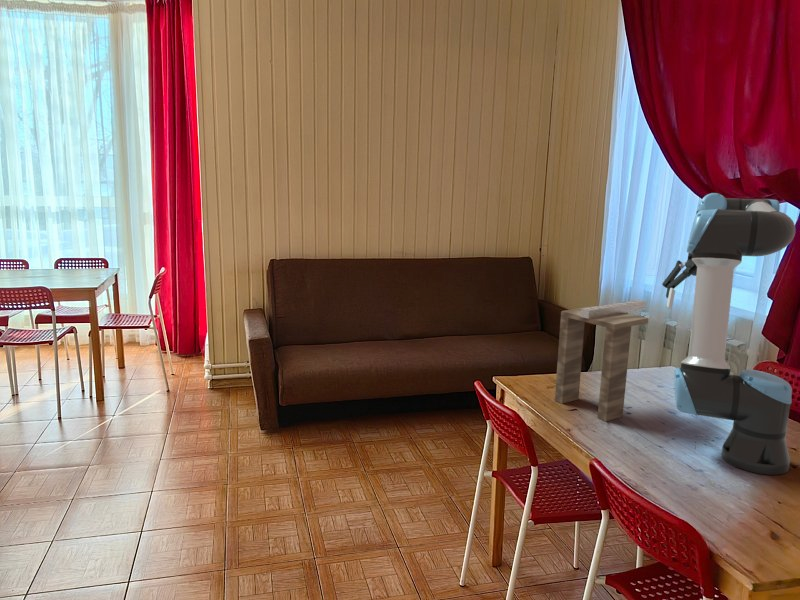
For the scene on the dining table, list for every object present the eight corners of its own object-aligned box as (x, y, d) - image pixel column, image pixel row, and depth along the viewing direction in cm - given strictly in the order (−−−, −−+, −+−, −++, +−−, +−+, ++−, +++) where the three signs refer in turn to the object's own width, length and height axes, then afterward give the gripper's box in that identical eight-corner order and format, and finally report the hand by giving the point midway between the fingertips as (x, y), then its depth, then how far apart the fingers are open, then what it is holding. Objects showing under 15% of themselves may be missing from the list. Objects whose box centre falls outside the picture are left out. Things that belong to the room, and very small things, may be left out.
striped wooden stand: (638, 411, 188) (648, 318, 182) (605, 421, 179) (614, 324, 173) (587, 392, 204) (594, 306, 198) (554, 400, 195) (561, 311, 189)
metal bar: (645, 309, 195) (646, 301, 194) (588, 318, 179) (589, 310, 179) (637, 307, 197) (638, 300, 197) (580, 316, 182) (581, 308, 181)
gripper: (747, 252, 192) (735, 316, 189) (668, 252, 210) (656, 309, 207) (740, 244, 187) (728, 309, 184) (660, 244, 205) (647, 303, 202)
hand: (690, 309), depth 195 cm, fingers open, 13 cm apart
